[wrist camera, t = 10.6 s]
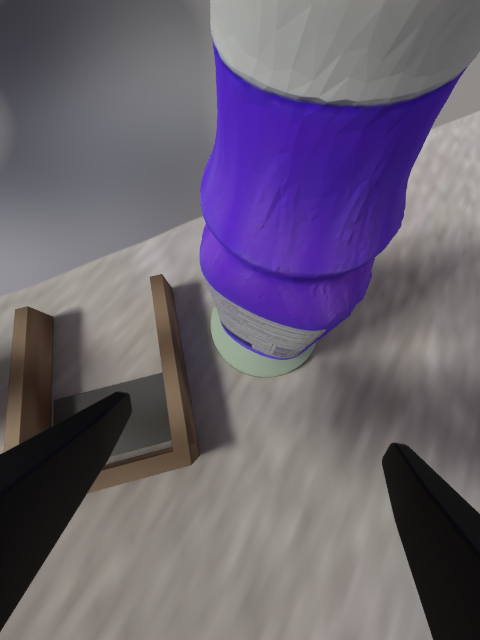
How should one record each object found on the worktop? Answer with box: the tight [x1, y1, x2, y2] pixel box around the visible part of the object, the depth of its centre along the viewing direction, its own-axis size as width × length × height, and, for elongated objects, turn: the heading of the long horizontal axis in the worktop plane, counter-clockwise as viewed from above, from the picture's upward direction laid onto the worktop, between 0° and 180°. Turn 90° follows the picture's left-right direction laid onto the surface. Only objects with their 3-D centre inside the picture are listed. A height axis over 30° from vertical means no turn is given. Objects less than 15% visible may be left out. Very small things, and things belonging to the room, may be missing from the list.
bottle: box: [200, 0, 480, 360], centre depth 11 cm, size 7×6×17 cm
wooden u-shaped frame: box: [3, 274, 200, 493], centre depth 18 cm, size 14×12×2 cm
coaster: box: [211, 305, 317, 377], centre depth 19 cm, size 9×9×1 cm
